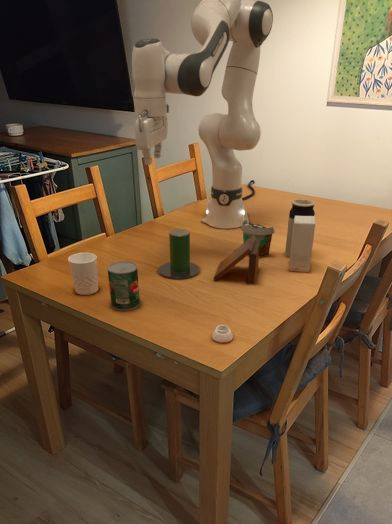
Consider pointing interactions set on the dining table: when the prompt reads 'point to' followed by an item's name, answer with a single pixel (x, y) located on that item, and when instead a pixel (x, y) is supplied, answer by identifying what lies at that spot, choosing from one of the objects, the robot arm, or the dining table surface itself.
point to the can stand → (237, 255)
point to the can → (179, 250)
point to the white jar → (222, 334)
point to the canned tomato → (123, 285)
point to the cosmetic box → (302, 243)
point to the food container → (258, 236)
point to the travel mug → (298, 209)
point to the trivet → (166, 272)
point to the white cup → (84, 272)
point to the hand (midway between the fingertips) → (153, 161)
